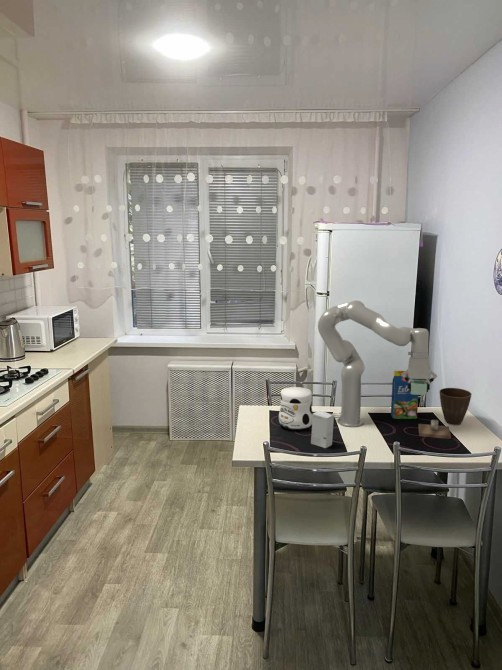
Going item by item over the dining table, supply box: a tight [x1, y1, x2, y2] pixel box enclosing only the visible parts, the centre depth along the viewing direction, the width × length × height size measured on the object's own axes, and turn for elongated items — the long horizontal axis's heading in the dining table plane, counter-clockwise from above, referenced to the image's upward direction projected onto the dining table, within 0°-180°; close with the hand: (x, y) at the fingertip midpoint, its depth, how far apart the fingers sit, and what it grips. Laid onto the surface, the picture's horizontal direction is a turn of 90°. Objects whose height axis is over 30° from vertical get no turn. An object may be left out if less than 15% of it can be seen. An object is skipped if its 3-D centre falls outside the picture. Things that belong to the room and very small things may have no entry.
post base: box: [418, 419, 452, 440], centre depth 246 cm, size 14×12×6 cm
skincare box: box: [310, 410, 335, 449], centre depth 233 cm, size 8×6×15 cm
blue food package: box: [390, 370, 419, 420], centre depth 264 cm, size 6×12×25 cm, turn 88°
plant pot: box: [439, 387, 472, 426], centre depth 257 cm, size 15×15×16 cm
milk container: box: [278, 386, 314, 431], centre depth 255 cm, size 17×17×18 cm
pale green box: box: [411, 379, 428, 396], centre depth 244 cm, size 7×7×5 cm
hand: (418, 390), depth 244 cm, fingers closed on pale green box, 7 cm apart
